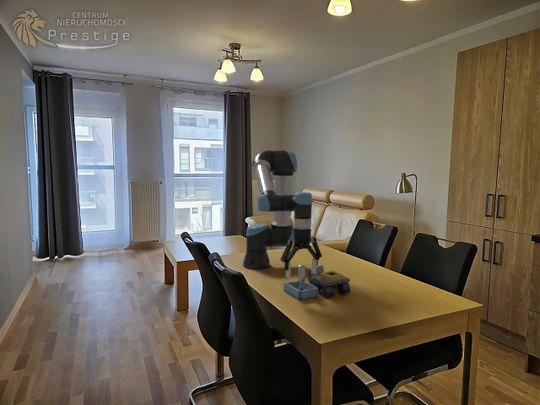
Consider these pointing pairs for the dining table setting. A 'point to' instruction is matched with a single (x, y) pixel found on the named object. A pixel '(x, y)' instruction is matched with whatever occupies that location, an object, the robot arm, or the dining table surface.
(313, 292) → the tray
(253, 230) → the robot arm
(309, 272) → the electrical switch
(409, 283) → the dining table surface
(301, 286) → the pin
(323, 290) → the trolley
